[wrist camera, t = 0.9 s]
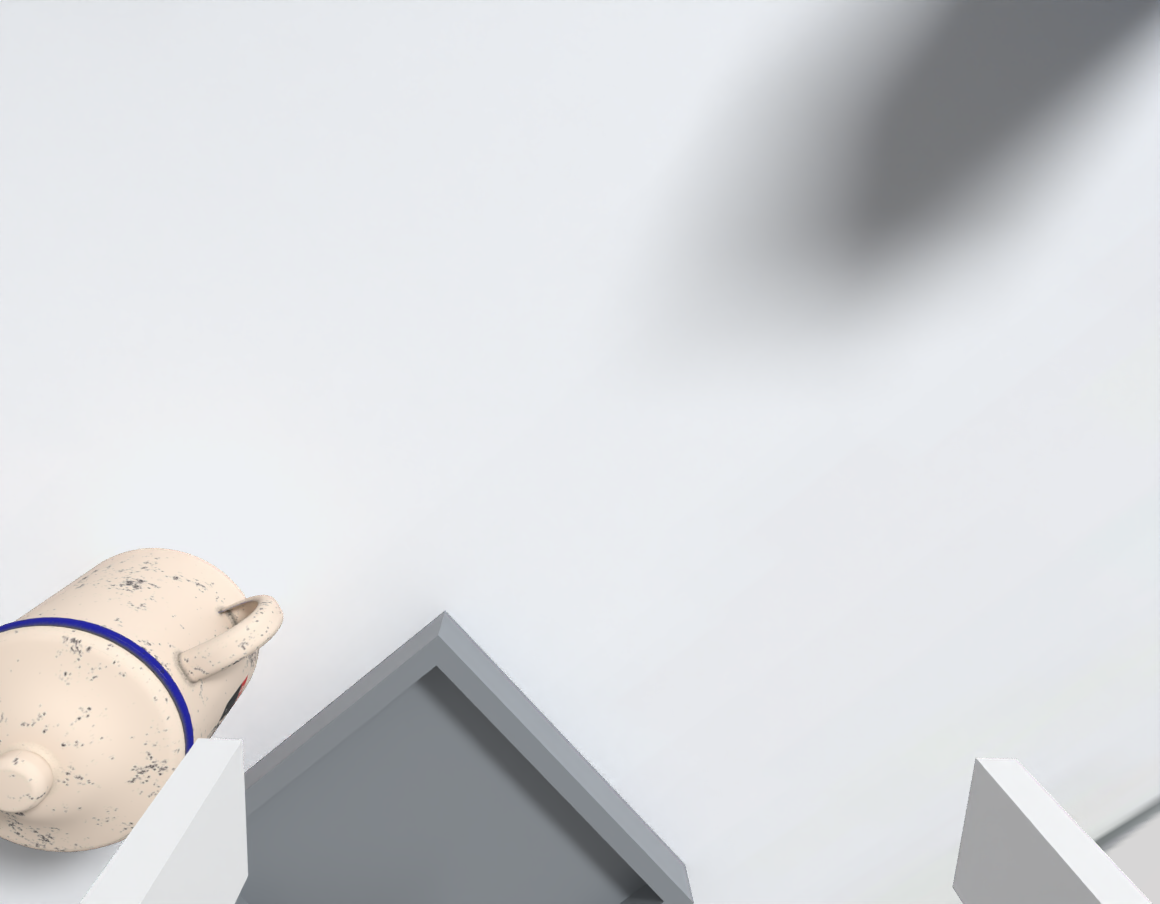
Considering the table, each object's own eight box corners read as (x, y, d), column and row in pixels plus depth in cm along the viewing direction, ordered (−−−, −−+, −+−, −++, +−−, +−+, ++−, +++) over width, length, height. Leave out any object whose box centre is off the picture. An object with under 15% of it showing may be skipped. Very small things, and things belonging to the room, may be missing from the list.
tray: (165, 836, 41) (140, 875, 38) (445, 610, 39) (438, 635, 36) (416, 1061, 44) (409, 1109, 42) (684, 864, 42) (693, 903, 40)
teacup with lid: (131, 753, 40) (-34, 950, 28) (24, 590, 38) (-199, 731, 26) (358, 652, 39) (282, 812, 28) (262, 480, 37) (137, 577, 26)
